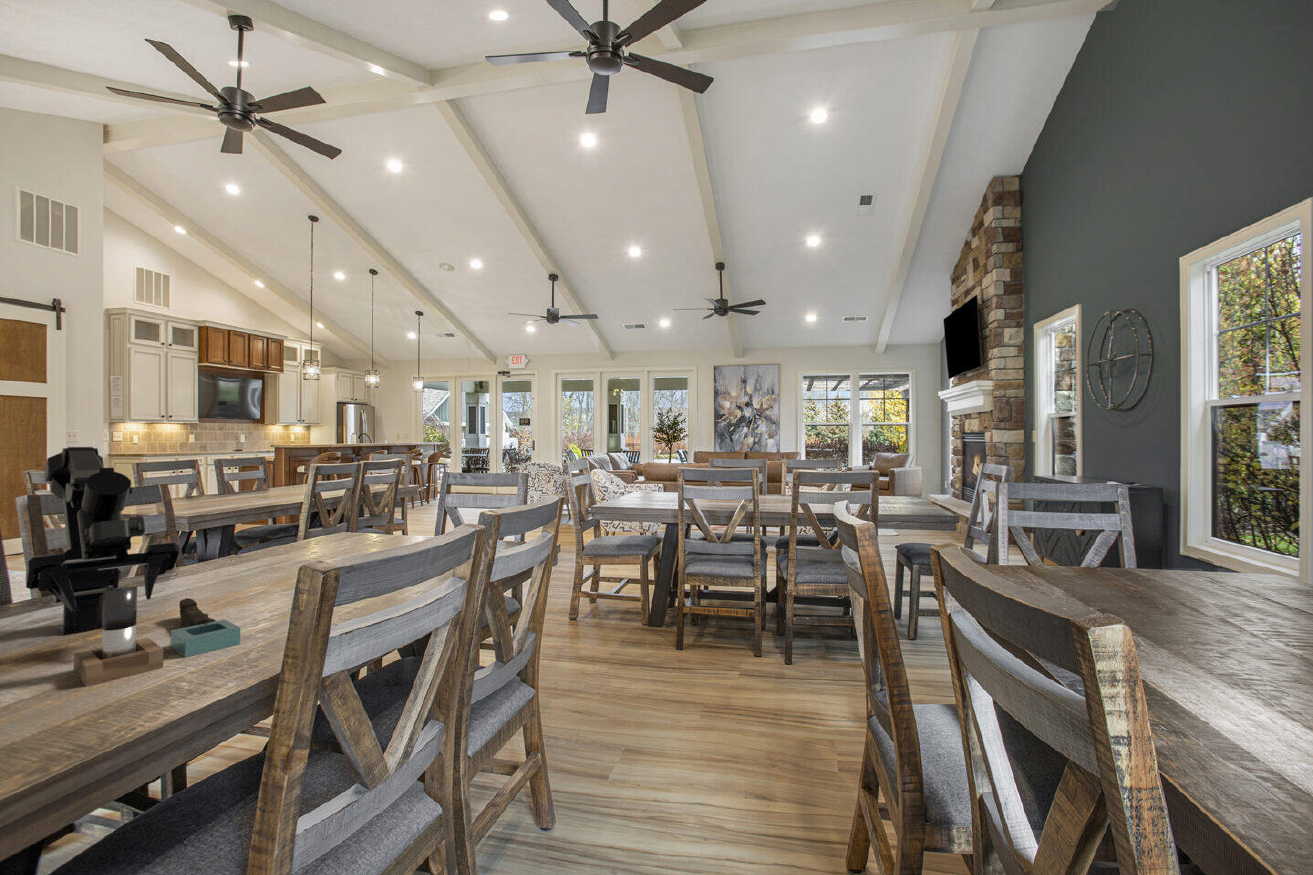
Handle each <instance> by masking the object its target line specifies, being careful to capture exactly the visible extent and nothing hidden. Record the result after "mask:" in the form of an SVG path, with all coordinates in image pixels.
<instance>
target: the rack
mask: <svg viewBox="0 0 1313 875" xmlns="http://www.w3.org/2000/svg"><path fill="white" fill-rule="evenodd" d="M162 668H164V648H163V647H161V646H160V645H158V644H157V643H156V642H154V640H152V639H151V638H149V637H145V638H140V639H136V652H134V653H130V654H125V655H121V656H116V657H112V658H107V659H103V660H102V646H101V647H97V648H92V649H89V650H84V651H78V652H74V653H73V673H74V674H75V676H77V678H78V679H79V680H80V681H81V682H82V684H83V685H84V686H85V687H89V686H92V685H93V686H94V685H97V684H101V683H105V682H109V681H113V680H117V679H121V678H125V677H130V676H133V675H134V676H135V675H137V674H142V673H145V672H150V671H153V670H158V669H162Z"/></svg>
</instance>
